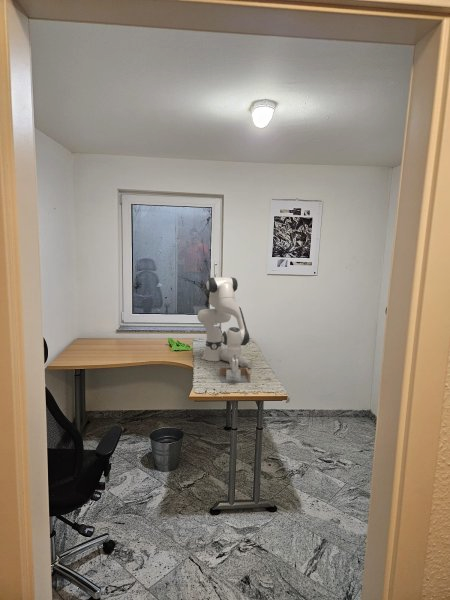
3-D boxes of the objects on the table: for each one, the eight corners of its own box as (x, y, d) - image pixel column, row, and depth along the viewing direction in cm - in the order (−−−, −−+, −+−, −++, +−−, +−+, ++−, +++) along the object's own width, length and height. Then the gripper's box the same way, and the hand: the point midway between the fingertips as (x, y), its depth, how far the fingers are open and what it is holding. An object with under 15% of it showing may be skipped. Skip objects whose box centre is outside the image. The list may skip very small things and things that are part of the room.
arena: (219, 376, 237) (220, 367, 236) (247, 375, 238) (247, 367, 238) (221, 382, 224) (221, 373, 223) (250, 382, 226) (250, 373, 225)
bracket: (240, 378, 231) (240, 369, 230) (240, 380, 227) (241, 371, 226) (226, 378, 230) (226, 369, 229) (226, 380, 226) (226, 371, 226)
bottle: (216, 356, 272) (243, 367, 249) (222, 345, 274) (249, 355, 251) (224, 361, 277) (251, 372, 254) (229, 351, 279) (256, 361, 256)
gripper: (240, 357, 218) (240, 380, 219) (237, 349, 238) (236, 369, 240) (230, 357, 217) (230, 380, 219) (227, 349, 238) (227, 370, 239)
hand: (233, 374), depth 229 cm, fingers open, 8 cm apart
